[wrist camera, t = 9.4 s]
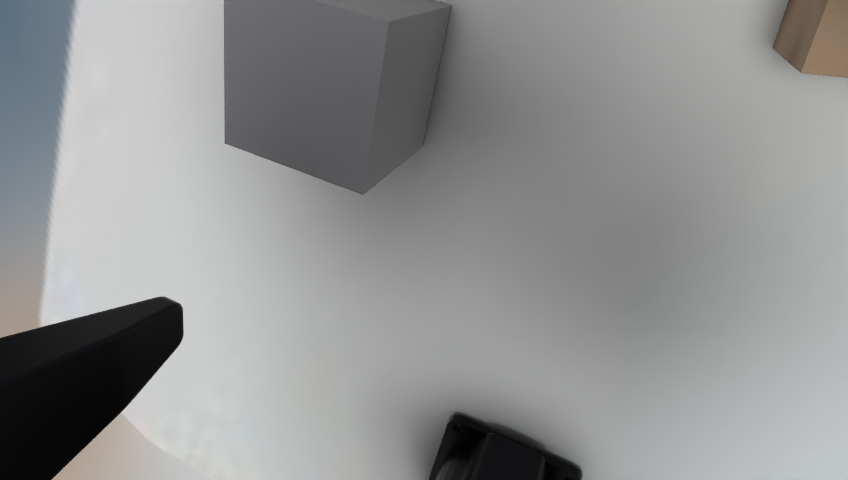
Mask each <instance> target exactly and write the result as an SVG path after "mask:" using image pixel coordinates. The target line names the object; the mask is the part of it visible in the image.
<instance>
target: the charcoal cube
mask: <svg viewBox="0 0 848 480" xmlns="http://www.w3.org/2000/svg"><path fill="white" fill-rule="evenodd" d="M451 6H452V5H448V4H445V3H441V2H437V1H434V0H224V84H225V144H228V145H231V146H234V147H236V148H239V149H242V150H244V151H247V152H250V153H252V154H255V155H258V156H260V157H263V158H266V159H268V160H271V161H274V162H276V163H279V164H282V165H285V166H287V167H290V168H293V169H295V170H298V171H301V172H303V173H306V174H309V175H311V176H314V177H317V178H319V179H322V180H325V181H327V182H330V183H333V184H336V185H338V186H341V187H344V188H346V189H349V190H352V191H354V192H357V193H360V194H362V195H363V194H365V193H366V192H367V191H368V190H369V189H371V188H372V187H373V186H374V185H376V184H377V183H378V182H379V181H380V180H382V179H383V178H384V177H385V176H387V175H388V174H389V173H390V172H391V171H393V170H394V169H395V168H396V167H398V166H399V165H400V164H401V163H402V162H404V161H405V160H406V159H407V158H409V157H410V156H411V155H412V154H413V153H415V152H416V151H417V150H418V149H420V148H421V147H422V146H423V142H424V137H425V132H426V127H427V123H428V118H429V113H430V108H431V103H432V98H433V93H434V89H435V84H436V79H437V74H438V69H439V64H440V60H441V55H442V50H443V45H444V40H445V35H446V30H447V26H448V21H449V16H450V11H451Z"/></svg>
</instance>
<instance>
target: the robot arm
mask: <svg viewBox="0 0 848 480" xmlns="http://www.w3.org/2000/svg"><path fill="white" fill-rule="evenodd" d="M182 338H183V308H182V306H181V304H179V303H177V302H175V301H173V300H171V299H169V298H167V297H156V298H152V299H148V300H145V301H141V302H137V303H133V304H129V305H125V306H121V307H118V308H114V309H110V310H106V311H102V312H98V313H94V314H91V315H87V316H83V317H79V318H75V319H71V320H67V321H64V322H60V323H56V324H52V325H48V326H44V327H40V328H37V329H33V330H29V331H25V332H21V333H17V334H14V335H9V336H6V337H2V338H0V480H51V479H53V477H55V476H56V475H57V474H58V473H59V472H60V471H61V470H62V469H63V467H65V466H66V465H67V464H68V463H69V462H70V461H71V460H72V459H73V458H74V457H75V456H76V455H77V454H78V453H79V452H80V451H81V450H83V449H84V448H85V447H86V446H87V445H88V444H89V443H90V442H91V441H92V439H94V438H95V437H96V436H97V435H98V434H99V433H100V432H101V431H102V430H103V429H104V428H105V427H106V426H107V425H108V424H109V423H110V422H111V421H112V420H113V419H115V417H117V416H118V414H120V413H121V412H122V411H123V410H124V409H125V408H126V407H127V405H128V404H129V403H130V402H131V401H132V400H133V399H134V398H135V397H136V395H137V394H138V393H139V392H140V391H141V390H142V388H143V387H144V386H145V385H146V384H147V382H148V381H149V380H150V379H151V378H152V377H153V375H154V374H155V373H156V372H157V371H158V370H159V368H160V367H161V366H162V365H163V364H164V363H165V361H166V360H167V359H168V358H169V357H170V355H171V354H172V353H173V352H174V351H175V350H176V348H177V347H178V346H179V344H180V343H181V341H182ZM458 425H459V426H458ZM568 476H569V477H568ZM571 477H572V478H571ZM429 480H582V473H581V472H580V470H579V469H577V468H576V467H574V466H571V465H569V464H567V463H565V462H563V461H560V460H558V459H556V458H554V457H552V456H549V455H547V454H545V453H543V452H541V451H538V450H536V449H534V448H532V447H530V446H527V445H525V444H523V443H521V442H519V441H516V440H514V439H512V438H510V437H508V436H505V435H503V434H501V433H499V432H496V431H494V430H492V429H490V428H488V427H485V426H483V425H481V424H479V423H477V422H474V421H472V420H470V419H468V418H466V417H463V416H461V415H453V416H451V418H450V420H449V422H448V424H447V427H446V430H445V433H444V436H443V439H442V442H441V445H440V448H439V451H438V454H437V457H436V460H435V463H434V466H433V469H432V472H431V475H430V478H429Z"/></svg>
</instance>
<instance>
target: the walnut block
mask: <svg viewBox="0 0 848 480" xmlns="http://www.w3.org/2000/svg"><path fill="white" fill-rule="evenodd" d="M773 49H774V50H775V51H776V52H778V53H779V54H780V55H781V56H782V57H783V58H784V59H786V60H787V61H788V62H789V63H790V64H791V65H793V66H794V67H795V68H796V69H797V70H798V71H799V72H801V73H808V74H817V75H826V76H836V77H845V78H848V0H789V2H788V5H787V8H786V11H785V14H784V16H783V19H782V22H781V25H780V28H779V31H778V34H777V37H776V40H775V42H774V45H773Z"/></svg>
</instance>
